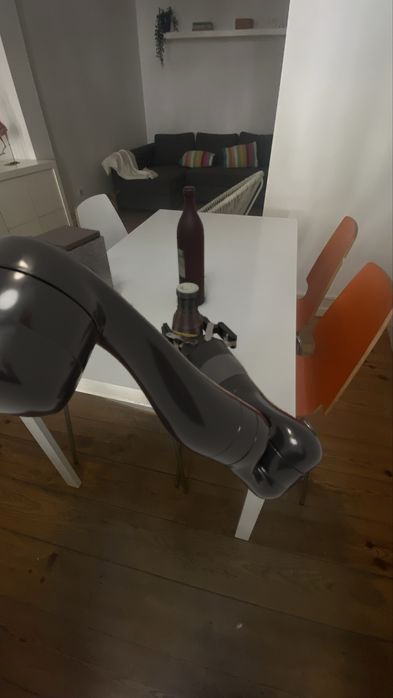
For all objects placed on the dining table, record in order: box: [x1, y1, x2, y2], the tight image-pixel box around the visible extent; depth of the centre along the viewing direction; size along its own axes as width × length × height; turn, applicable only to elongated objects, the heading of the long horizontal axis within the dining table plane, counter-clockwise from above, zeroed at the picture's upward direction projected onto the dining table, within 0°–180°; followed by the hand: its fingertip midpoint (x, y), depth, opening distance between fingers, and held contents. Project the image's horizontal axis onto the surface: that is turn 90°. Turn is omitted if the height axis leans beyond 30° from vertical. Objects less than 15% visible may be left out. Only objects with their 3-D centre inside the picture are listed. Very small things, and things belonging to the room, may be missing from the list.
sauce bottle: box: [171, 283, 204, 342], centre depth 62 cm, size 6×6×20 cm
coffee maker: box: [34, 224, 115, 289], centre depth 84 cm, size 18×12×20 cm, turn 63°
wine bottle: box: [176, 185, 205, 306], centre depth 83 cm, size 7×7×30 cm
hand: (182, 322), depth 63 cm, fingers open, 7 cm apart
